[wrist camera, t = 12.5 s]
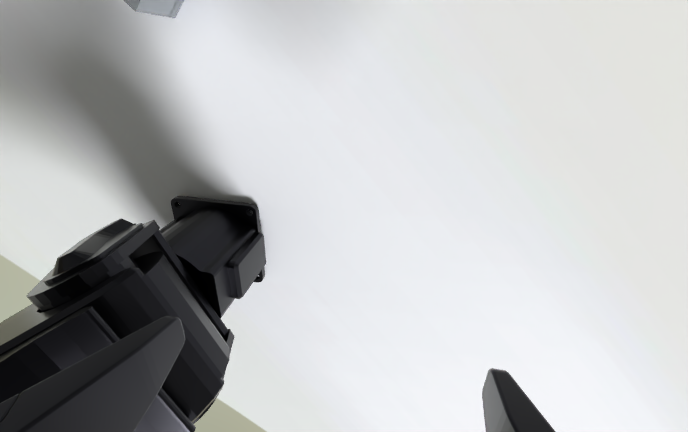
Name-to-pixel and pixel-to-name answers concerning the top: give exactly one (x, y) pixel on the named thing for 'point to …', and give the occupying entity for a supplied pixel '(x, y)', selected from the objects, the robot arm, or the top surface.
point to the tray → (156, 6)
